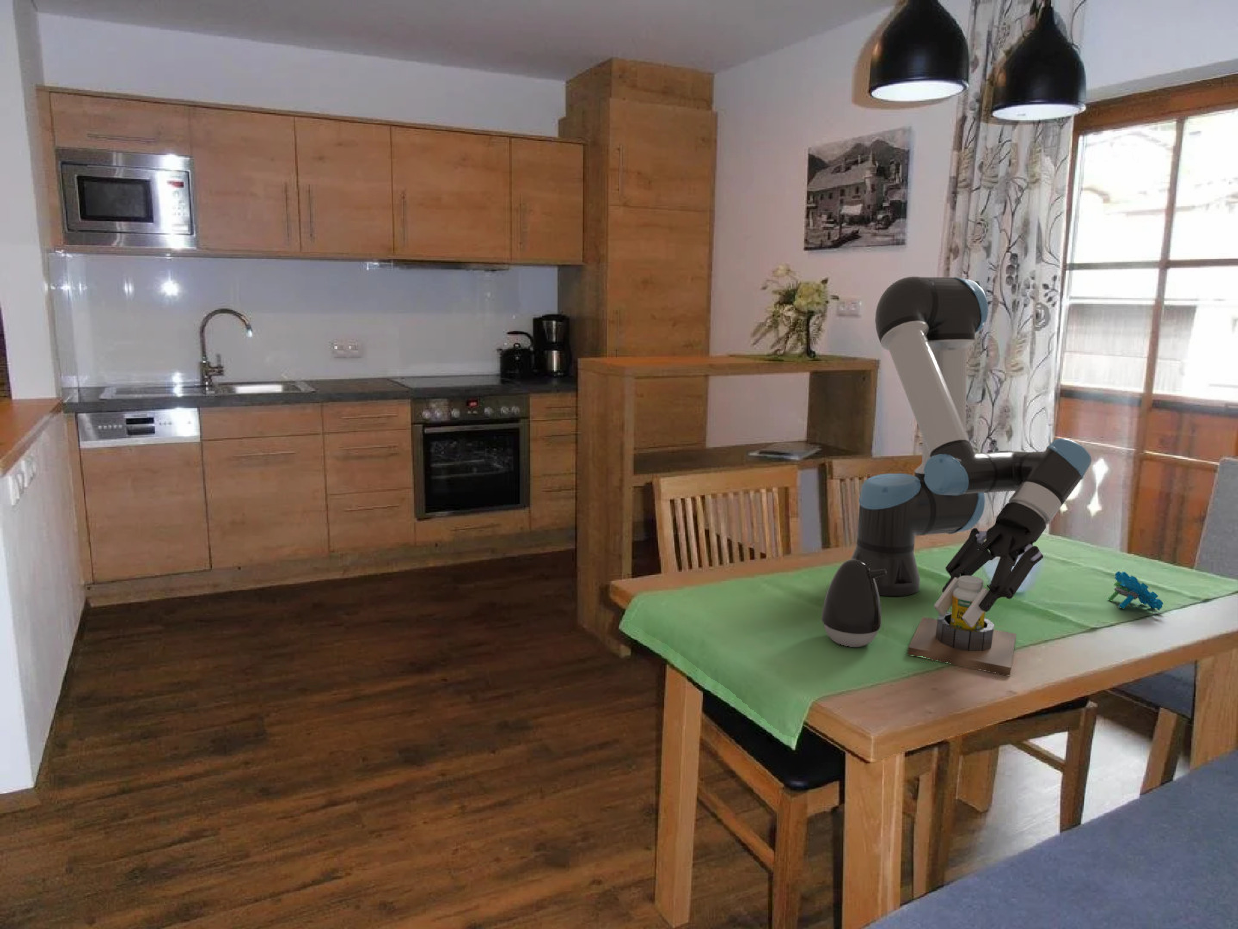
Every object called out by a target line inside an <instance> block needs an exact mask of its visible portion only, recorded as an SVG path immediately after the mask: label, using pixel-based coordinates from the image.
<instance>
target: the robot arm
mask: <svg viewBox="0 0 1238 929" xmlns="http://www.w3.org/2000/svg"><path fill="white" fill-rule="evenodd" d="M988 315H989V302H988V299H987V295H986V294H985V291H984V289H983V288H982V287H981V286H979V284H978V283H977V282H976V281H974V280H972V279H968V278H960V277H957V276H955V277H944V276H943V277H942V276H941V277H939V276H937V277H928V276H927V277H926V276H924V277H923V276H908V277H903V278H900V279H898V280H896V281H894V282H893V283H892V284H890V286H888V287H887V288H886V289H885V290H884V291H883V293H882V294H881V296H880V298H879V300H878V303H877V305H876V309H875V318H874V324H875V330H876V334H877V337H878V340H879V343H880V345H881V347H882V348H883V349H884V350H887V351H889V354H890V357H891V359H892V362H893V364H894V367H895V369H896V371H897V374H898V376H899V380H900V382H901V384H902V387H903V390H904V392H905V396H906V398H907V400H908V403H909V405H910V407H911V410H912V413H913V416H914V418H915V420H916V421H915V422H916V423H917V427H918V428H919V431H920V434H921V437H922V455H921V457H922V458H921V460H922V462H921V464H920V465H919V466H918V467H917V468H916V469H914V475H913V474H908V473H882V474H877V475H873V476H871V477H868V478H867V479H866V480H864V482H863V483H862V486H861V489H860V493H859V494H860V495H859V498H858V503H859V509H858V523H857V534H856V546H855V549H854V551H853V554H852V556H851V557H850V560H851V559H858V560H861V561H863V562H865V563H866V564H867V565H868V567H869V568H870V570H871V571H872V570H880V569H885V570H886V575H884V576H880V577H877V578H874V579H875V581H876V584H877V588H878V592H879V596H884V597H887V596H888V597H902V596H903V597H904V596H905V597H906V596H909V595H912V594H913V595H914V594H915V593H917V592H919V590H920V585H921V584H920V583H921V577H920V573H919V569H918V565H917V561H916V556H915V541H916V537H918V536H928V535H940V534H942V535H943V534H948V535H950V534H951V535H953V534H956V533H960V532H965V531H969V530H970V533H969V535H968V538H967V539H966V540H965V542H964V543H963V544H962V546H961V547H960V548H959V549H958V550H957V552H956V554H954V556H953V557H952V558H951V560H950V561H949V563H947V565H946V566H945V571H946V572H947V573H948V575H949V576H950V578H949V579H948V581H947V582H946V583H945V585H944V586H943V587H942V590H941V592H942V594H941V595H940V596H939V598H938V599H937V601H936V602H935V603H934V605H933V607H934V608H935V610H936V611H937V612H938V613H939V615H940V614H941V615H943V616H944V615H945V614H946V612H949V609H950V608H952V600H953V592H954V590H955V589H956V588H958V587H959V586H958V579H959V577H960V576H974V574H975V573H976V572H977V571H979V570H980V569H981V568H982V567H983V566H984V565H986V564H987V563H988V562H989V561H993V560H994V559H996V558H997V557H999V559H998V562H997V565H996V568H995V570H994V572H993V575H992V579H991V581H990V584H986V587H987V588H986V587H983V589H981V592H980V593H979V594H978V596H977V597H976V598H975V600H974V601H973V603H972V604H971V605H970V607H969V608H968V610H967V611H966V612H965V614H964V615H963V616H962V619H963V620H964V621H965V622H966V624H967V625H968V626H969V627H971V628H973V626H974V625H975V623H976V622H977V621H978V619H979V618H980V616H981V615H982V614H983V612H984V611H985V613H987V612H989V611H990V610H991V609H992V607H993V606H994V604H995V603H996V601H997V600H998V599H1001V598H1006V599H1008V600H1011V599H1012V598H1013V597H1014V596H1015V594H1016V593H1017V592H1018V590H1019V588H1020V587H1021V585H1022V584H1023V582H1024V581H1025V580H1026V578H1027V577H1028V575H1029V574H1030V572H1031V571H1032V569H1033V567H1034V566H1035V565H1036V564H1038V563H1039V562H1040V561H1041V560H1043V558H1044V554H1043V553H1042V551H1041V550H1040V549H1039V547H1038V546H1037V545H1034V544H1035V543H1036V542H1037V541H1038V540H1039V538H1040V537H1041V535H1043V533H1044V531H1045V530H1046V529H1047V525H1049V524H1050V523H1051V521H1052V520H1053V518H1054V517H1055V516H1056V514H1057V513H1058V512H1059V510H1060V509H1061V508H1062V506H1063V505H1064V504H1065V502H1066V501H1067V500H1068V498H1069V497H1070V495H1071V494H1072V492H1074V490H1075V488H1076V487H1077V486H1078V485H1079V483H1080V482H1081V480H1083V479H1084V476H1085V475H1086V473H1087V472H1088V470H1089V468H1090V466H1091V464H1092V456H1091V454H1090V452H1088V450H1086V448H1085V447H1084V446H1083V445H1081V444H1080V443H1078V442H1077V441H1074V440H1072V439H1068V438H1061V437H1060V438H1056V439H1055V440H1052V442H1051V443H1050V444H1049V445H1048V446H1047V447H1046V449H1045V450H1044V451H1016V450H998V451H992V452H975V451H974V449H973V446H972V444H971V442H970V440H969V438H968V435H967V433H966V432H967V430H966V429H967V427H966V426H967V414H966V413H967V374H968V373H967V371H968V370H967V363H968V362H967V360H968V359H967V358H968V354H967V353H968V349H969V348H970V347H971V346H972V345H973V344H974V343H976V342H975V341H976V334H977V333H978V332H980V331H981V330H982V329H983V327H984V325H985V324H984V323H986V322H987V319H988ZM1001 492H1002V493H1003V492H1004V493H1005V492H1014V493H1013V494H1012V495H1011V497H1010V498H1009V499H1008V502H1007V503H1006V504H1005V505H1004V507H1003V508H1002V509H1001V511H999V513H998V515H997V516H996V519H995V522H994V524H993V525H992V526H991V527H989V528H987V530H985V531H984V530H979V529H978V528H977V527H975V525H977V524H978V523H979V521H980V520H981V519H982V516H983V515H984V512H985V505H986V498H985V494H987V493H988V494H989V493H1001ZM1019 556H1020V558H1019ZM1018 558H1019V559H1018Z"/></svg>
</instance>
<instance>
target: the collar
mask: <svg viewBox="0 0 1238 929" xmlns="http://www.w3.org/2000/svg"><path fill="white" fill-rule="evenodd" d="M951 612H952V611H947V612H946V614H945V615H944V616H943V615H941V614H940V613H939V615H938V617H937V629H936V638H937V639H938V640H939V641H940V642H941V643H942V644H944V645H947V646H949V647H952V648H955V649H960V650H965V651H984V650H987V649H990V648H991V646H992V639H993V631H994V630H995V623H993V622H992V621H991V620H990V619H988V618H986V617H985V618H984V628H983V629H964V628H959V627H956V626H953V625H950V623H951Z"/></svg>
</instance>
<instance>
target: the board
mask: <svg viewBox="0 0 1238 929" xmlns="http://www.w3.org/2000/svg"><path fill="white" fill-rule="evenodd" d="M937 619H938V618H937ZM937 619H936V618H931V617H926V616H922V618H921V620H920V621H919V624H918V626H917V628H916V630H915V632H914V635H913V637H912V638H911V641H910V644H909V645H908V647H907V648H908V650H907V655H908V654H909V655H914V656H923V657H926V658H930V659H933V660H938V661H941V662H940V663H942V662H948V663H951V664H950V665H952V664H954V665H953V666H958V667H962V666H963V667H962V668H967V669H972V670H977V669H981V670H986V671H990V672H989V673H991V672H996V673H999V674H998V675H1001V674H1004V675H1003V676H1006V675H1010V676H1011V673H1012V666H1013V665H1012V664H1013V659H1014V655H1015V654H1014V653H1015V647H1016V642H1017V641H1016V639H1017V633H1013V632H1010V631H1009V632H1008V631H1003V630H997V629H994V631H993V639H992V646H991V648H990V649H987V650H984V651H965V650H960V649H955V648H952V647H949V646H947V645H944V644H942V643H941V642H940V641H939V640H938V639H937V638H936V629H937ZM933 660H932V661H933ZM981 670H980V671H981ZM986 671H985V672H986ZM996 673H995V674H996Z"/></svg>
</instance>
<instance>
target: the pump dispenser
mask: <svg viewBox="0 0 1238 929" xmlns="http://www.w3.org/2000/svg"><path fill="white" fill-rule="evenodd" d="M884 575H886V570H885V569H880V570H872V571H871V570H870V568H869V567H868V565H867V564H866V563H865V562H863V561H861V560H858V559H851V558H850V559H847V560H845V561H844V562H843V563H841V565H840V566H839V567H838V569H837V570H836V572H835V573H834V576H833V577H832V579H831V582H830V584H829V586H828V589H827V592H826V594H825V598H824V601H823V606H822V611H821V612H822V613H821V622H822V623H823V628H824V630H825V633H826V635H827V636H828V638H830V639H831V640H832V641H834V643H837V644H838V645H840V644H841V646H843V645H844V646H843V647H847V646H849V647H848V648H859V647H864V646H866V645H868V644H870V643H872V642H873V640H874V639H875V638H876V636H877V635H878V633H879V631H880V629H881V627H882V607H881V606H882V604H881V598H880V595H879V592H878V588H877V584H876V581H875V579H874V578H877V577H880V576H884Z"/></svg>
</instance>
